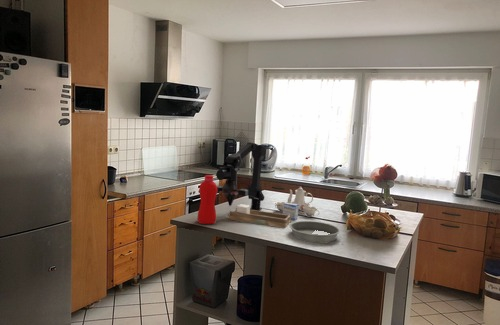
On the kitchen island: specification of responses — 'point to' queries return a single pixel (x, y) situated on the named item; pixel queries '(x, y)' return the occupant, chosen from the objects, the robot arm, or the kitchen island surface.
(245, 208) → the cream block
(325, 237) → the cake pan
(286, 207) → the medicine box
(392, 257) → the kitchen island surface
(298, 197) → the chinaware
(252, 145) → the robot arm
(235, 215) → the light wood shallow tray
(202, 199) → the water bottle
